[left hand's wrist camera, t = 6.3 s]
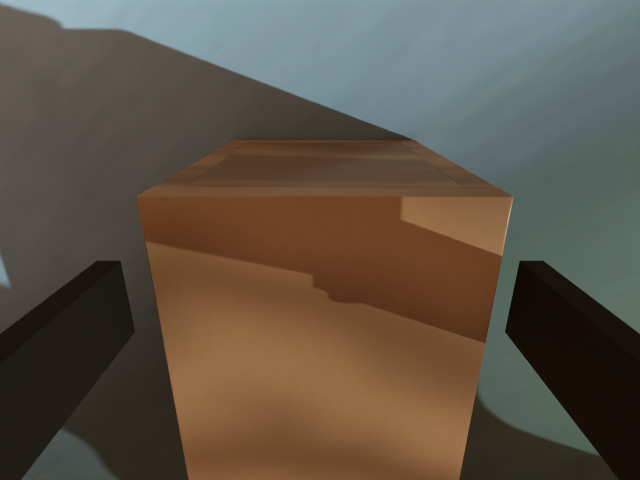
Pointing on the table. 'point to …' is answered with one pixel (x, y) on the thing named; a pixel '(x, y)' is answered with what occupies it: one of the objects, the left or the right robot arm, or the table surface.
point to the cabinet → (324, 307)
